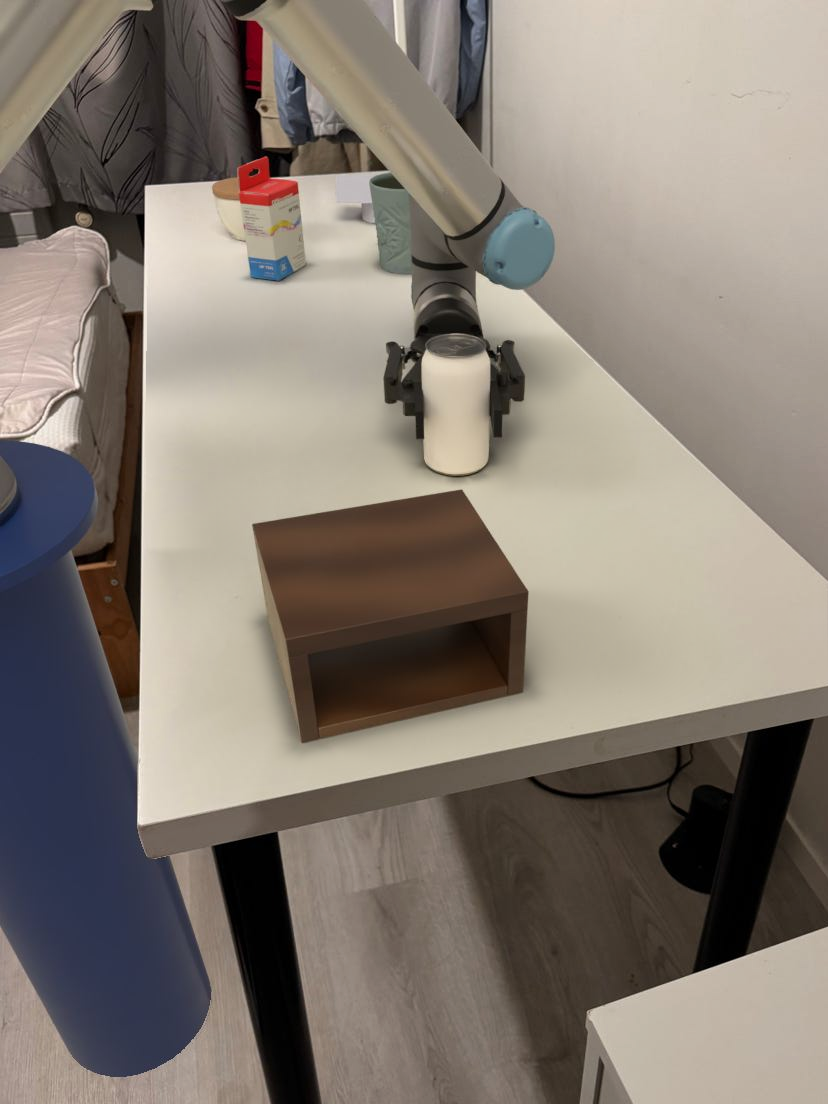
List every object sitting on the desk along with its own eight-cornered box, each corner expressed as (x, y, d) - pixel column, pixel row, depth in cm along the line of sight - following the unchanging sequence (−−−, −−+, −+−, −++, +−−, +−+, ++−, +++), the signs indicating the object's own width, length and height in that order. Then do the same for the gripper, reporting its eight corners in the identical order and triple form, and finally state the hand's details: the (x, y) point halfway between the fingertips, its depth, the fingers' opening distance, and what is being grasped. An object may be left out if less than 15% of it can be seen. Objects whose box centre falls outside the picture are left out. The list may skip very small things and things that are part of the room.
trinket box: (281, 224, 157) (273, 163, 151) (291, 242, 149) (284, 179, 143) (216, 229, 154) (206, 167, 148) (223, 248, 146) (213, 183, 140)
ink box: (279, 282, 134) (265, 171, 125) (249, 278, 135) (233, 167, 126) (307, 264, 140) (296, 157, 131) (278, 261, 141) (265, 154, 132)
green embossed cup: (447, 257, 144) (446, 172, 136) (433, 278, 136) (431, 190, 128) (383, 253, 145) (379, 169, 137) (366, 273, 137) (360, 186, 130)
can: (410, 460, 93) (406, 343, 85) (458, 440, 96) (458, 326, 89) (453, 484, 89) (452, 364, 82) (502, 462, 93) (505, 346, 85)
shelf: (268, 621, 73) (251, 523, 67) (462, 584, 77) (462, 488, 71) (301, 743, 62) (285, 640, 57) (523, 692, 66) (528, 591, 61)
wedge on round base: (337, 224, 157) (413, 224, 157) (333, 181, 153) (412, 181, 153) (341, 209, 164) (414, 209, 164) (338, 168, 160) (413, 168, 160)
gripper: (533, 361, 106) (561, 459, 88) (361, 364, 104) (355, 463, 87) (536, 295, 101) (567, 383, 83) (357, 297, 100) (349, 387, 82)
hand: (459, 424), depth 85 cm, fingers closed on can, 6 cm apart
